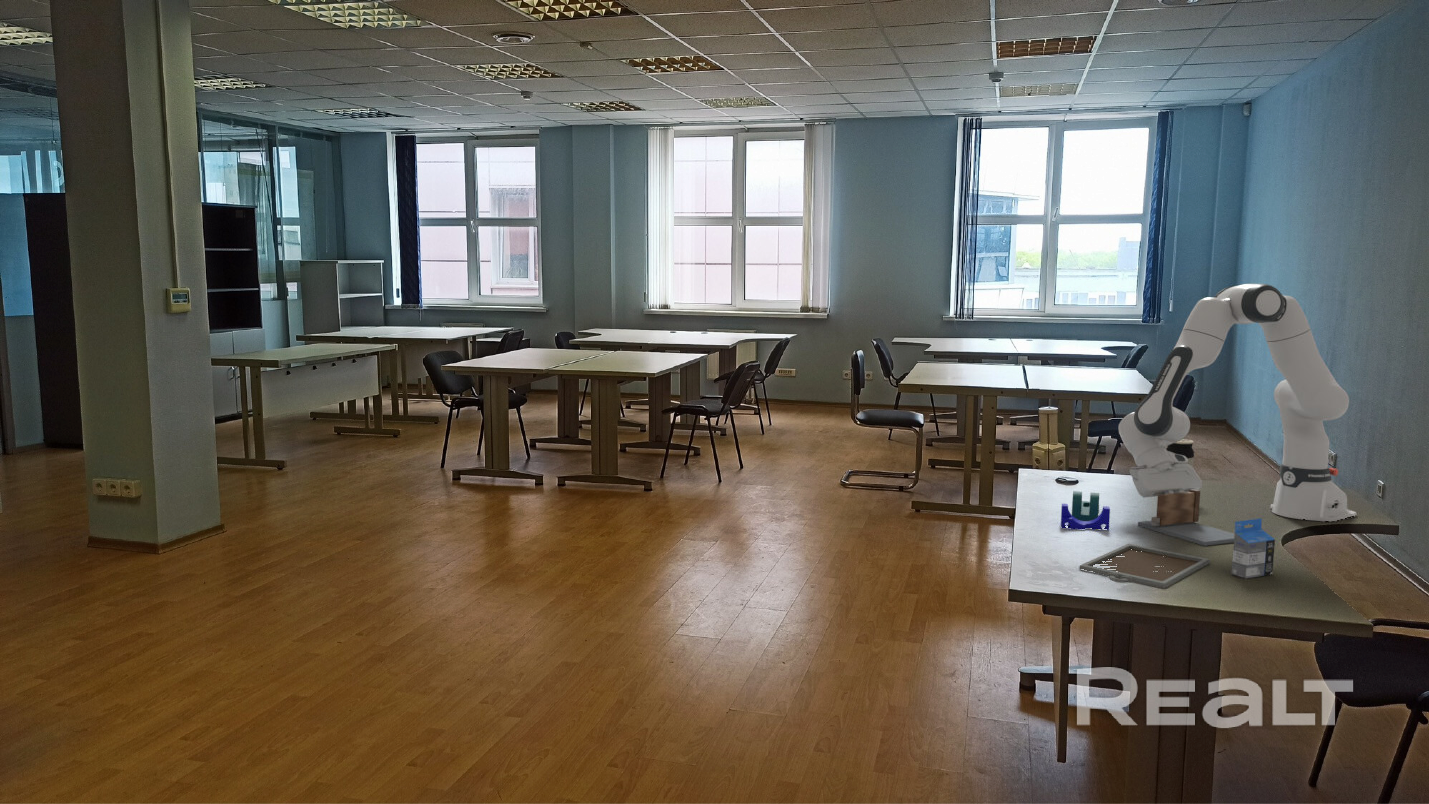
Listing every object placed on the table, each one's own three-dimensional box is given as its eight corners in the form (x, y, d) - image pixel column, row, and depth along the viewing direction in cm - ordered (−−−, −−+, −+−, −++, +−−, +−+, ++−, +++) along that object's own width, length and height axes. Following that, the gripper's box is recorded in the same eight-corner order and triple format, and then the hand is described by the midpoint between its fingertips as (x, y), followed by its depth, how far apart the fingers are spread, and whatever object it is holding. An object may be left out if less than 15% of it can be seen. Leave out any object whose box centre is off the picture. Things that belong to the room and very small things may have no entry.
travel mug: (1158, 495, 303) (1162, 437, 301) (1185, 495, 302) (1189, 438, 300) (1167, 500, 295) (1170, 442, 293) (1194, 501, 294) (1198, 442, 292)
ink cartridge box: (1245, 579, 217) (1249, 525, 216) (1230, 574, 221) (1234, 521, 219) (1273, 574, 221) (1277, 521, 219) (1257, 570, 224) (1261, 517, 223)
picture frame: (1209, 558, 229) (1160, 586, 209) (1209, 565, 230) (1159, 593, 209) (1128, 543, 243) (1073, 567, 222) (1128, 549, 243) (1073, 574, 222)
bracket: (1097, 524, 267) (1098, 495, 266) (1071, 521, 270) (1072, 493, 269) (1099, 509, 284) (1100, 483, 283) (1074, 507, 286) (1075, 481, 285)
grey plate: (1176, 521, 270) (1177, 517, 270) (1245, 540, 250) (1245, 536, 249) (1137, 525, 265) (1138, 521, 265) (1204, 545, 245) (1204, 542, 244)
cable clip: (1061, 528, 262) (1062, 507, 261) (1060, 524, 266) (1061, 503, 265) (1109, 532, 258) (1110, 510, 257) (1107, 528, 262) (1109, 506, 262)
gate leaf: (1191, 519, 265) (1193, 489, 264) (1198, 521, 263) (1200, 490, 262) (1149, 524, 260) (1151, 493, 259) (1155, 526, 258) (1157, 495, 257)
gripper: (1133, 460, 266) (1159, 503, 258) (1190, 455, 273) (1217, 497, 266) (1120, 473, 271) (1145, 515, 263) (1176, 468, 278) (1202, 509, 270)
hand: (1182, 506), depth 264 cm, fingers closed
